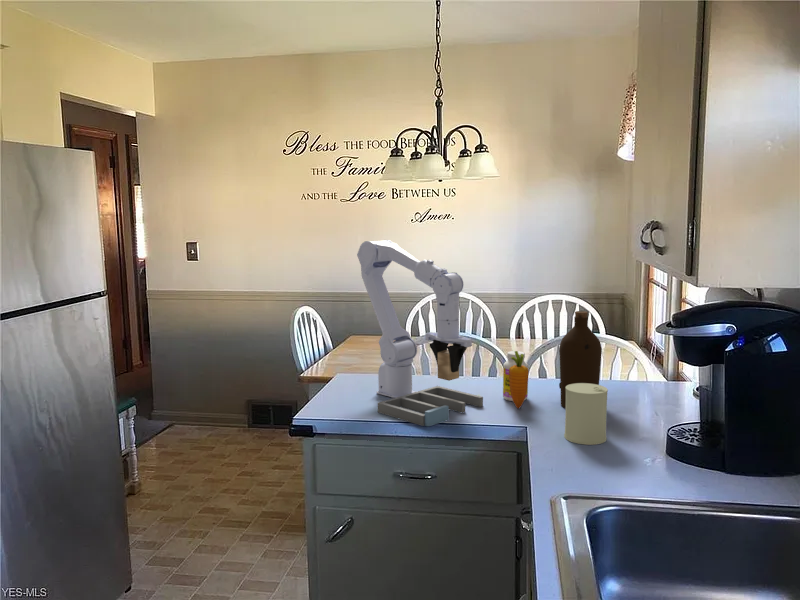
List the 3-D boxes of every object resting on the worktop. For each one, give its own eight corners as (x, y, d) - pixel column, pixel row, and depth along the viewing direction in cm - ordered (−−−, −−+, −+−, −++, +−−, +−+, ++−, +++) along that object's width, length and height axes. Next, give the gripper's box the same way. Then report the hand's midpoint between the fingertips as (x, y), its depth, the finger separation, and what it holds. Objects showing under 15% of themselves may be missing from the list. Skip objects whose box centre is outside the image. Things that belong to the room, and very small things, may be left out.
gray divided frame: (377, 412, 169) (377, 398, 169) (437, 394, 185) (437, 382, 184) (426, 427, 157) (426, 413, 156) (486, 407, 172) (486, 394, 172)
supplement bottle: (500, 400, 178) (500, 354, 176) (506, 394, 184) (506, 349, 183) (525, 403, 176) (525, 356, 174) (529, 396, 182) (530, 351, 180)
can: (600, 447, 142) (601, 393, 140) (558, 440, 147) (559, 388, 145) (611, 435, 150) (612, 384, 148) (571, 428, 155) (572, 379, 153)
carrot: (527, 411, 168) (528, 354, 166) (508, 410, 169) (508, 353, 167) (528, 406, 173) (528, 350, 171) (508, 405, 174) (509, 349, 172)
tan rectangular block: (437, 378, 174) (437, 352, 173) (447, 375, 177) (447, 349, 176) (449, 380, 171) (449, 354, 170) (459, 377, 174) (459, 351, 173)
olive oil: (608, 407, 171) (611, 312, 168) (580, 414, 165) (583, 316, 162) (577, 398, 180) (579, 307, 177) (549, 404, 174) (551, 311, 171)
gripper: (417, 318, 174) (417, 368, 176) (459, 324, 164) (459, 377, 166) (435, 315, 179) (435, 363, 181) (477, 321, 169) (476, 372, 171)
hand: (448, 370), depth 174 cm, fingers closed on tan rectangular block, 4 cm apart
